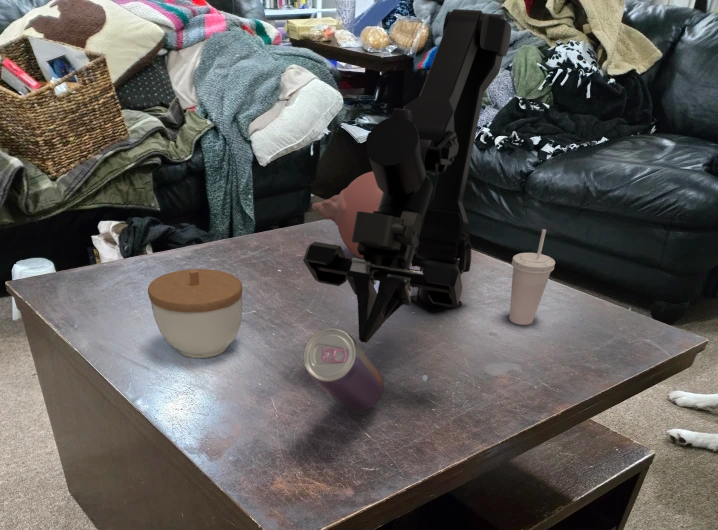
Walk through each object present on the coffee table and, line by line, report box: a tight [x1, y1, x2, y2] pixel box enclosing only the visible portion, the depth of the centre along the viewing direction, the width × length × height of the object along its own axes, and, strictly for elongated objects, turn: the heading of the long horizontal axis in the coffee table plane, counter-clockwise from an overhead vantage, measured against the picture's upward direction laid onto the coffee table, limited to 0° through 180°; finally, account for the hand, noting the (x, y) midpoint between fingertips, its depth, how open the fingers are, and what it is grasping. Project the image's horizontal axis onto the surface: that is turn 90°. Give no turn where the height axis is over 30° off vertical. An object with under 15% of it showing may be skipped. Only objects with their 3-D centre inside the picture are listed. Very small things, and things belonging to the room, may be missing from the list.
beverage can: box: [303, 327, 384, 412], centre depth 73 cm, size 6×6×15 cm
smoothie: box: [508, 228, 556, 326], centre depth 98 cm, size 6×6×14 cm
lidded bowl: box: [147, 268, 243, 359], centre depth 89 cm, size 13×13×11 cm
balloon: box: [311, 170, 383, 259], centre depth 117 cm, size 15×20×15 cm
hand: (362, 341), depth 76 cm, fingers closed
